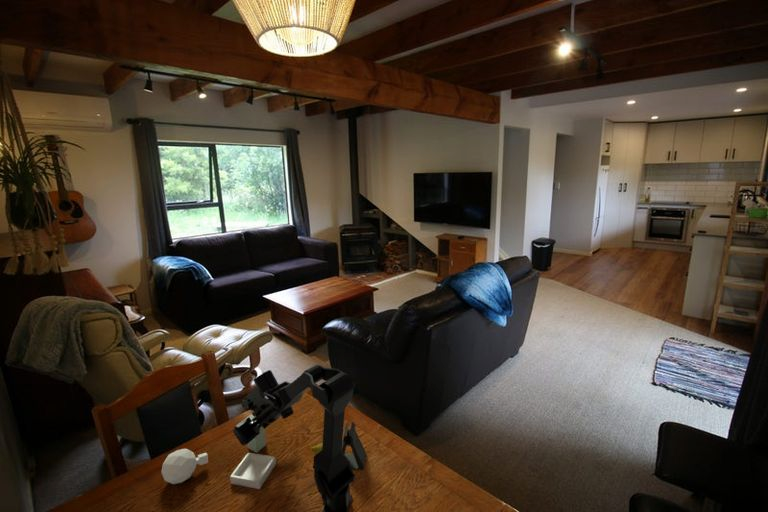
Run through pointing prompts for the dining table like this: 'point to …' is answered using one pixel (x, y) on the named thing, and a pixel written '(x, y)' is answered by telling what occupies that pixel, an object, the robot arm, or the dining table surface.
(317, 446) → the drill bit
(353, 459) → the phone stand
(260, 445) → the block
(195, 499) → the dining table surface
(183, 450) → the perfume bottle
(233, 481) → the tray
